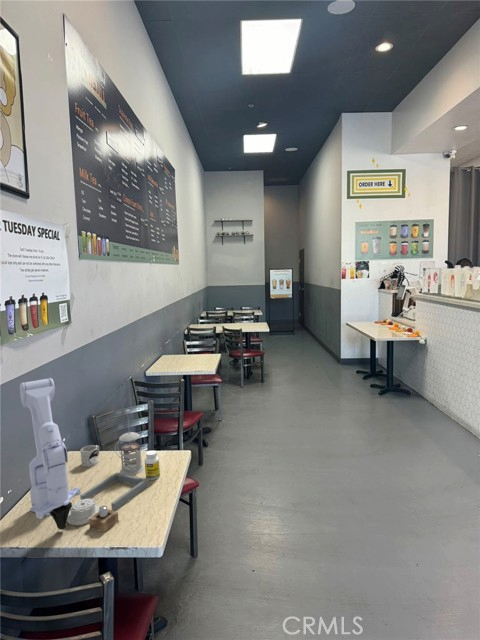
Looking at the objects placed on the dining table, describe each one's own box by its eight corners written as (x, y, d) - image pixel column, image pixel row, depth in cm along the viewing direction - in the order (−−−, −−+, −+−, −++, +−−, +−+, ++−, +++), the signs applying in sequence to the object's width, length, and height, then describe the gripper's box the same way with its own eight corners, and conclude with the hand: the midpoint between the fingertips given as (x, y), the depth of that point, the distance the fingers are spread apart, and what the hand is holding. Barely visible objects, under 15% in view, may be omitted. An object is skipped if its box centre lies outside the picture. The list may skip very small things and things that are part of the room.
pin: (98, 525, 123) (97, 509, 123) (104, 521, 125) (103, 505, 125) (104, 527, 122) (103, 510, 122) (110, 523, 124) (108, 506, 124)
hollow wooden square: (89, 527, 122) (89, 518, 122) (104, 517, 128) (103, 508, 128) (104, 532, 120) (103, 522, 120) (118, 521, 125) (117, 512, 125)
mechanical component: (60, 525, 125) (89, 527, 123) (59, 511, 125) (87, 513, 123) (79, 507, 135) (106, 509, 133) (78, 495, 135) (104, 496, 132)
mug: (92, 467, 165) (91, 452, 164) (78, 466, 166) (76, 451, 166) (105, 457, 174) (104, 442, 174) (92, 456, 176) (91, 441, 175)
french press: (136, 476, 154) (130, 414, 152) (110, 473, 158) (105, 412, 156) (149, 465, 164) (144, 406, 161) (125, 463, 167) (120, 405, 165)
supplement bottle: (146, 481, 150) (144, 456, 149) (145, 475, 155) (143, 451, 154) (160, 478, 151) (158, 454, 151) (159, 472, 157) (157, 448, 156)
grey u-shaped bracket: (80, 502, 138) (80, 495, 137) (116, 479, 153) (115, 472, 153) (114, 511, 131) (113, 503, 131) (148, 485, 147) (147, 479, 146)
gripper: (45, 500, 112) (50, 545, 113) (85, 476, 125) (89, 517, 126) (29, 495, 115) (33, 539, 116) (69, 473, 128) (73, 513, 129)
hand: (61, 527), depth 121 cm, fingers closed
